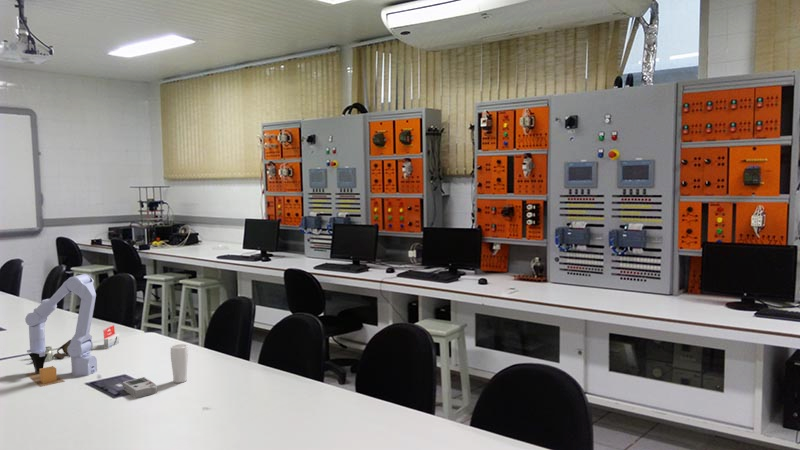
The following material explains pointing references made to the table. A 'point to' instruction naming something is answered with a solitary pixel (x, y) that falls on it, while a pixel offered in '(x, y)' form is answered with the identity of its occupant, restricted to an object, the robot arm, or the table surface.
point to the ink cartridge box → (110, 338)
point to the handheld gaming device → (140, 387)
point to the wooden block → (36, 378)
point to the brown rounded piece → (64, 348)
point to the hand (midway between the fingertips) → (38, 369)
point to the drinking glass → (179, 362)
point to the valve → (48, 354)
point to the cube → (48, 374)
